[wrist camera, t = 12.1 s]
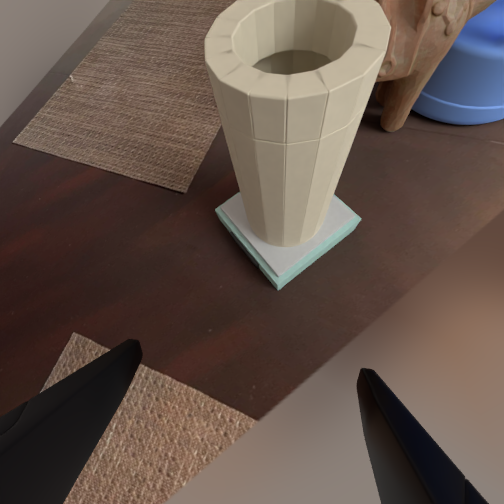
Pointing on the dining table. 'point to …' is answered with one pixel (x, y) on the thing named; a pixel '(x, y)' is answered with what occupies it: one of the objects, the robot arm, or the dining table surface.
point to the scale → (286, 258)
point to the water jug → (469, 74)
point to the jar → (293, 102)
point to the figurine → (417, 49)
